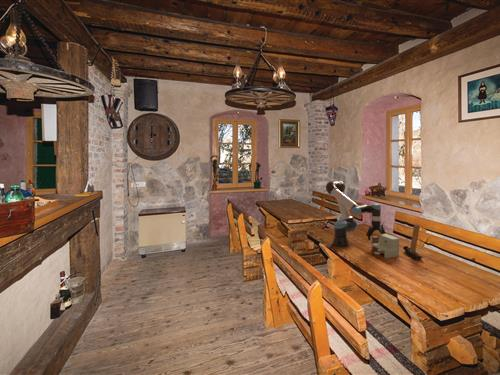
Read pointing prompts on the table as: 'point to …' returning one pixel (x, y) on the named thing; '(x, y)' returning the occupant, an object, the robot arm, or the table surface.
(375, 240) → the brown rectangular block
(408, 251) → the hammer
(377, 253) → the chrome dome knob
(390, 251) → the plinth shelf
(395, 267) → the table surface
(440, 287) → the table surface
